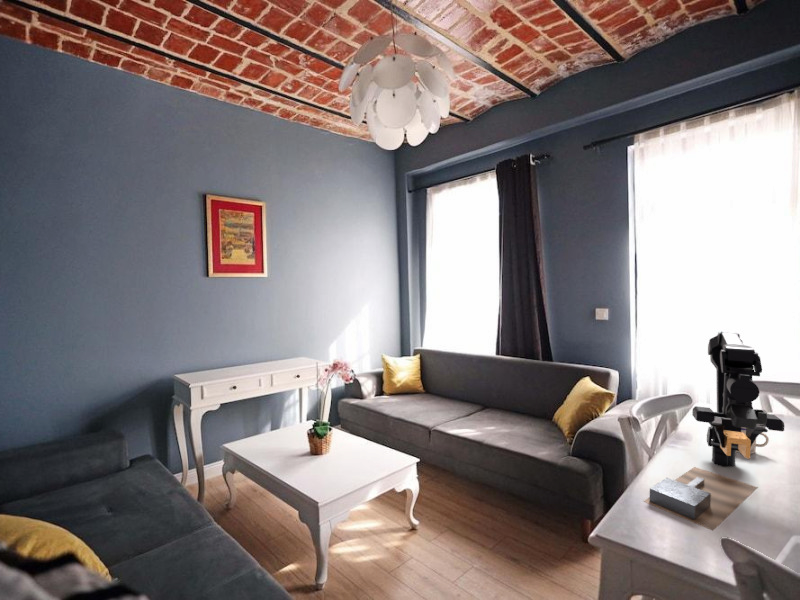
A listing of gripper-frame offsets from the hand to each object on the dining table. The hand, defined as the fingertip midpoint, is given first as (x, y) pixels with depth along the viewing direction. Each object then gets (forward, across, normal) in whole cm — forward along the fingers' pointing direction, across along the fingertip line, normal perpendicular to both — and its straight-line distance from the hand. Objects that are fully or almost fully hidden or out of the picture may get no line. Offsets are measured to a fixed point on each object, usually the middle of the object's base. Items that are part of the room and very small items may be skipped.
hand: (734, 448), depth 112 cm
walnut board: (+12, -8, -8) cm, 17 cm away
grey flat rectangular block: (+11, -12, -11) cm, 20 cm away
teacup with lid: (+12, +12, +35) cm, 39 cm away
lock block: (+1, 0, 0) cm, 1 cm away
